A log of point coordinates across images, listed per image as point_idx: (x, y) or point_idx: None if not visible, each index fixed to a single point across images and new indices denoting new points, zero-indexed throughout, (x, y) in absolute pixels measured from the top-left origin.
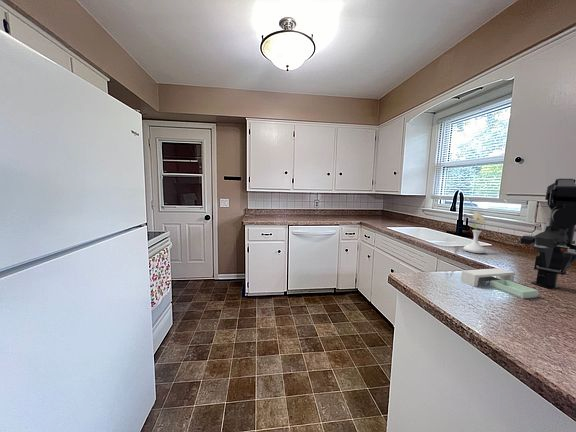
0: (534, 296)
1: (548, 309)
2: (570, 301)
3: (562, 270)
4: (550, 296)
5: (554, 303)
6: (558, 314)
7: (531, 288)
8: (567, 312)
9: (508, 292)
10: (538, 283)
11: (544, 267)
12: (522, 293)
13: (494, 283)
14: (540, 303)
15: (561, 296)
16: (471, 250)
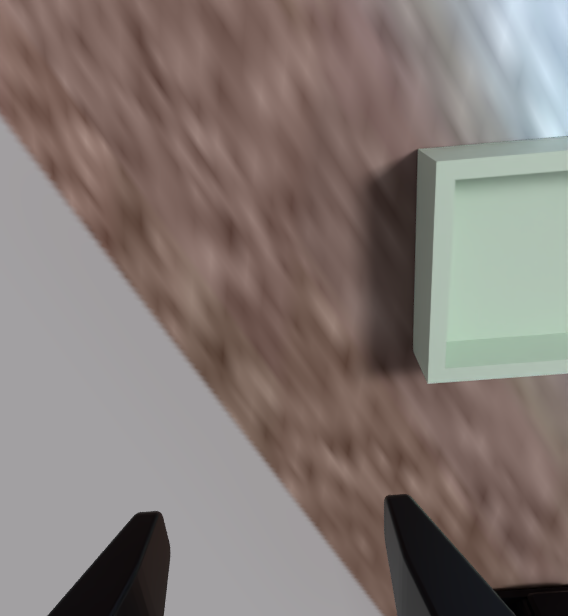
0: (415, 317)
1: (193, 149)
2: (302, 502)
3: (123, 540)
4: (396, 463)
5: (289, 349)
6: (99, 124)
7: (481, 372)
8: (137, 261)
9: (551, 138)
10: (565, 596)
11: (412, 499)
12: (435, 157)
13: None
14: (305, 222)
15: (378, 535)
16: None
